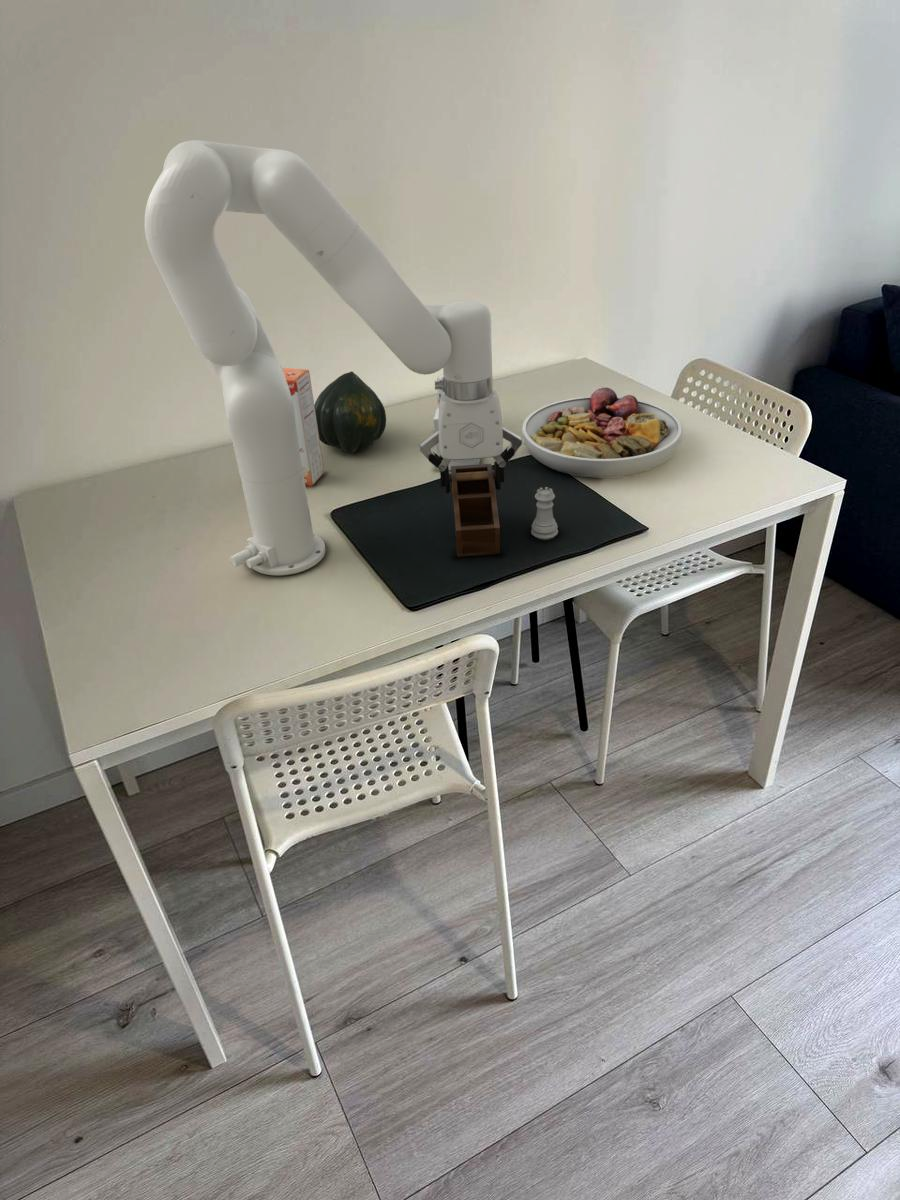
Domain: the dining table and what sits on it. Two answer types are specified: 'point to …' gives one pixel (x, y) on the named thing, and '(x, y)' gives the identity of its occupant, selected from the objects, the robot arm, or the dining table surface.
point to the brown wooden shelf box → (475, 510)
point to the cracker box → (305, 423)
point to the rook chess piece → (544, 516)
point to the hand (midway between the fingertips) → (472, 487)
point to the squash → (349, 414)
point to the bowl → (602, 435)
